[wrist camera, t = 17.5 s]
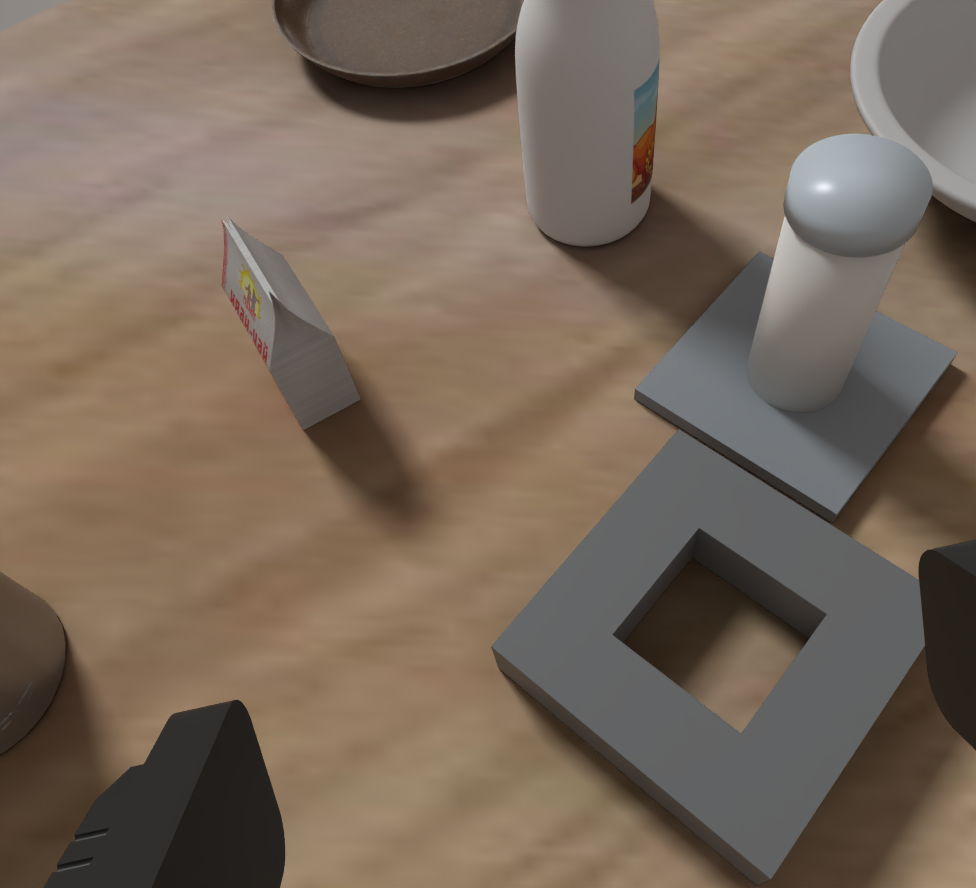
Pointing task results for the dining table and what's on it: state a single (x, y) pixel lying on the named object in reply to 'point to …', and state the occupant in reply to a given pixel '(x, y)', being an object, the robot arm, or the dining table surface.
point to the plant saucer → (397, 37)
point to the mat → (782, 434)
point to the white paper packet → (286, 328)
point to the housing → (675, 713)
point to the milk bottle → (587, 115)
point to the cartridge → (833, 264)
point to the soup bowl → (923, 88)
